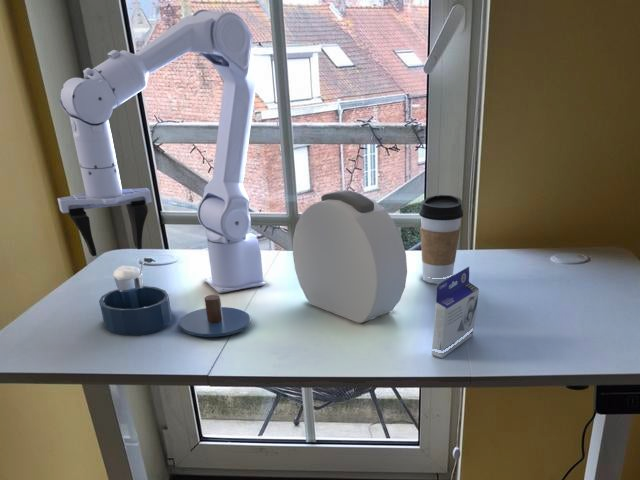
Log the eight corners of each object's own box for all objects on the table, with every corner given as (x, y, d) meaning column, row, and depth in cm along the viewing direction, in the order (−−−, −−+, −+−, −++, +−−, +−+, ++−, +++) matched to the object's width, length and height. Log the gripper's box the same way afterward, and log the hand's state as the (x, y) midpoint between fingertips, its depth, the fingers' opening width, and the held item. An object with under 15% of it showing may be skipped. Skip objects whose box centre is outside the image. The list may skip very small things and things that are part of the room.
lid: (194, 310, 132) (190, 282, 129) (259, 315, 130) (256, 287, 127) (169, 337, 122) (164, 308, 119) (239, 342, 121) (236, 312, 118)
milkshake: (147, 326, 125) (136, 267, 119) (118, 323, 126) (105, 265, 120) (159, 316, 128) (148, 259, 122) (130, 313, 129) (119, 256, 123)
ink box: (443, 360, 117) (448, 288, 110) (430, 356, 118) (434, 285, 111) (475, 335, 124) (481, 267, 118) (463, 332, 125) (468, 265, 118)
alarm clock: (406, 318, 130) (409, 200, 118) (377, 330, 126) (378, 209, 114) (323, 288, 142) (320, 178, 130) (294, 298, 137) (287, 185, 125)
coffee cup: (465, 276, 148) (472, 198, 139) (445, 289, 142) (450, 208, 133) (429, 269, 151) (433, 192, 142) (408, 280, 146) (411, 201, 137)
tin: (145, 305, 133) (141, 281, 131) (185, 321, 128) (181, 296, 125) (92, 323, 126) (86, 298, 124) (131, 341, 121) (126, 315, 118)
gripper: (56, 175, 112) (78, 264, 120) (150, 165, 118) (164, 250, 126) (47, 166, 117) (68, 252, 125) (138, 157, 123) (152, 240, 131)
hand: (116, 251), depth 126 cm, fingers open, 7 cm apart
